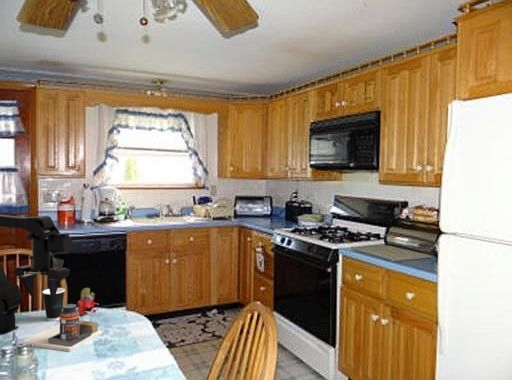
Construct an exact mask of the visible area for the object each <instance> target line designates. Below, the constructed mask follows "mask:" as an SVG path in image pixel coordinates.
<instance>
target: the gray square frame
mask: <svg viewBox="0 0 512 380" xmlns="http://www.w3.org/2000/svg"><path fill="white" fill-rule="evenodd" d="M79 335H80V336H79V337H77V338H76V339H74V340H72V341H71V340H63V339H60V333H59V334H57V335H55V336H52V337H50V338H48V343H51V344H58V345H65V346H74V345H76V344H77V343H79V342H81V341H83V340H85V339H86V338H88V337H90V336H91V331H83V330H79Z"/></svg>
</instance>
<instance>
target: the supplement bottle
mask: <svg viewBox="0 0 512 380" xmlns="http://www.w3.org/2000/svg"><path fill="white" fill-rule="evenodd" d="M77 310H78V309H77V304H74V303H68V304H65V305H64V304H63V309H62V313H61V314H60V319H59V325H60V339H63V340H71V341H72V340H74V339H76V338H77V337H79V320H80V314H79V312H78V311H77Z"/></svg>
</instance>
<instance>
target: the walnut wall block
mask: <svg viewBox="0 0 512 380" xmlns="http://www.w3.org/2000/svg"><path fill="white" fill-rule="evenodd" d="M79 330H83V331H91V334H94V333H95V332H97V331H98V330H99V323H98V322H96V321H87V320H80V319H79Z"/></svg>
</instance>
